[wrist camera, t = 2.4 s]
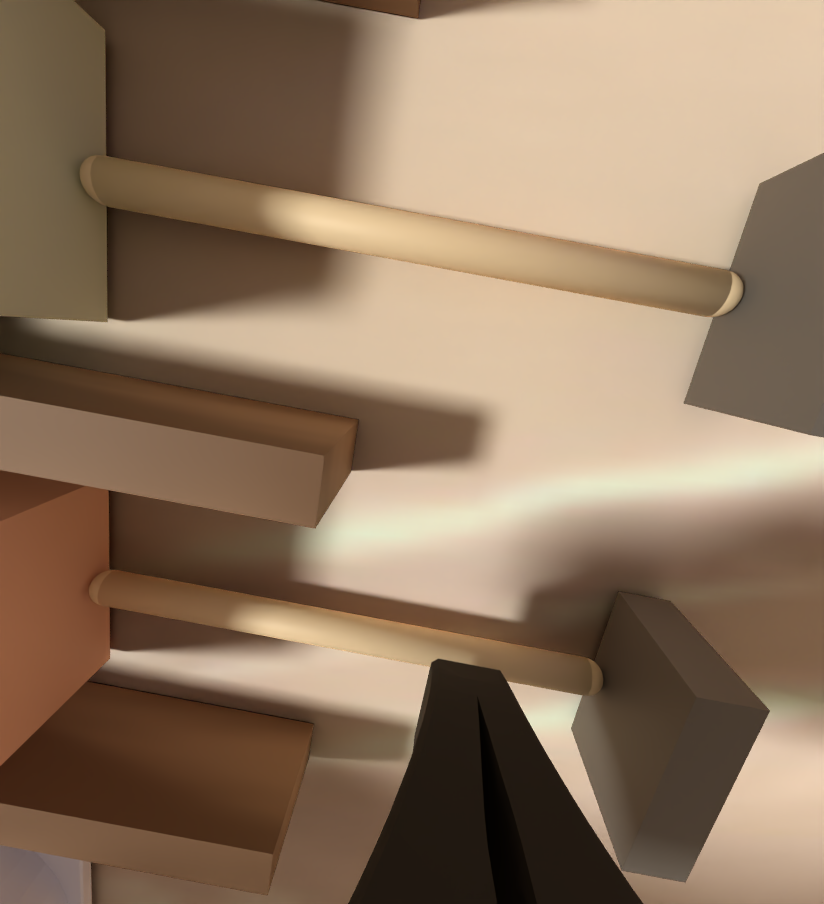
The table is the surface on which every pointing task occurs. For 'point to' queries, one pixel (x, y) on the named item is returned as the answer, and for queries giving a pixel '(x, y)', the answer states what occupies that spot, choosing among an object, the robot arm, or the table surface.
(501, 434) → the table surface
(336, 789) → the table surface
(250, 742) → the walnut lane rack
